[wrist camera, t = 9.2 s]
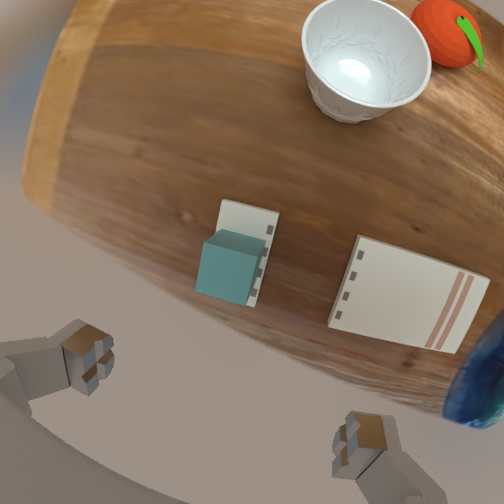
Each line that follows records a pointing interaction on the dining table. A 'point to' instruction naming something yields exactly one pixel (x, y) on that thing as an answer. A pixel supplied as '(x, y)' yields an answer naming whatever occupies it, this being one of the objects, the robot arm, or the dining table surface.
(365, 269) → the ticket
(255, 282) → the stub
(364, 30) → the white cup
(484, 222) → the dining table surface
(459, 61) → the clementine
